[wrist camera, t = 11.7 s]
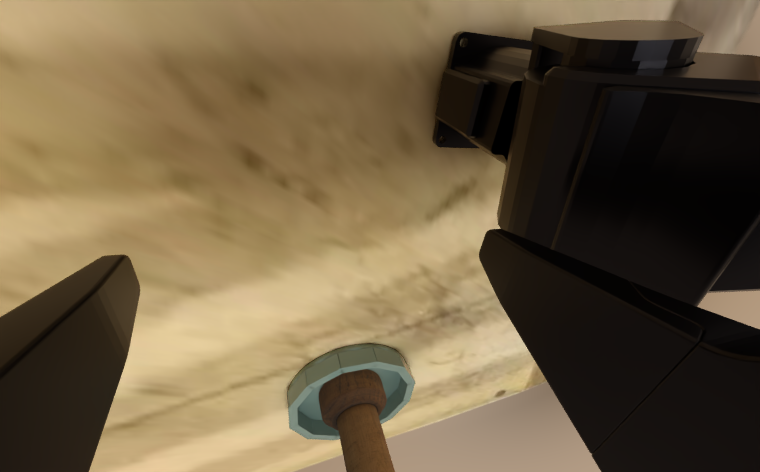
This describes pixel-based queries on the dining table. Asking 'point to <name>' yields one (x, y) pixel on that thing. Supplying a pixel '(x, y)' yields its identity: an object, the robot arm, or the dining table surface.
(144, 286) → the dining table surface
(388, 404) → the glazed dish
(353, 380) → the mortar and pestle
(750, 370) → the robot arm
